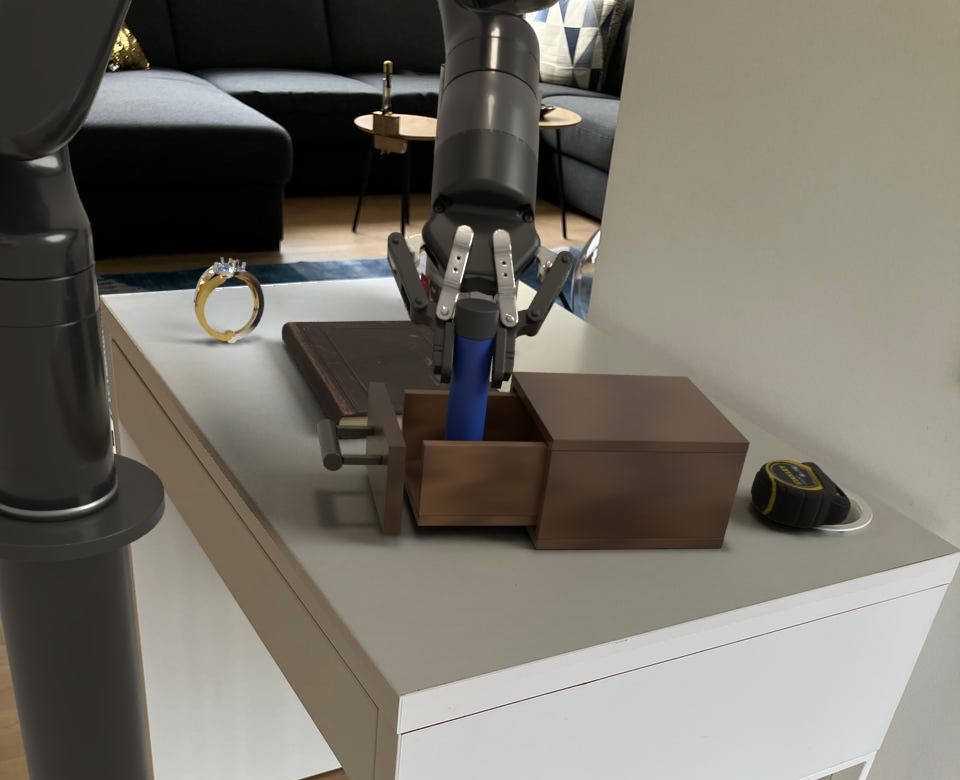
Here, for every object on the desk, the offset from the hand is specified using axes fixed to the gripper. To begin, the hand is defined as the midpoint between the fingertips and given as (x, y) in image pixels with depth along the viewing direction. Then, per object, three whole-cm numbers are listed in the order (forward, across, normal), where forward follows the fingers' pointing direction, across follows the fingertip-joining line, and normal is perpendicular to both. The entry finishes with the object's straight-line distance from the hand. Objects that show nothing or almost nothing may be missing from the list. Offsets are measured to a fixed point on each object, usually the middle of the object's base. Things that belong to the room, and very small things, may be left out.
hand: (471, 380), depth 74 cm
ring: (-16, -22, +32) cm, 42 cm away
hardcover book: (-11, -6, +27) cm, 29 cm away
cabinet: (+5, +12, +11) cm, 17 cm away
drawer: (+6, -2, +8) cm, 10 cm away
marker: (+4, 0, +7) cm, 8 cm away
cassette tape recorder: (-23, +1, +39) cm, 45 cm away
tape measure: (+4, +28, +12) cm, 31 cm away
